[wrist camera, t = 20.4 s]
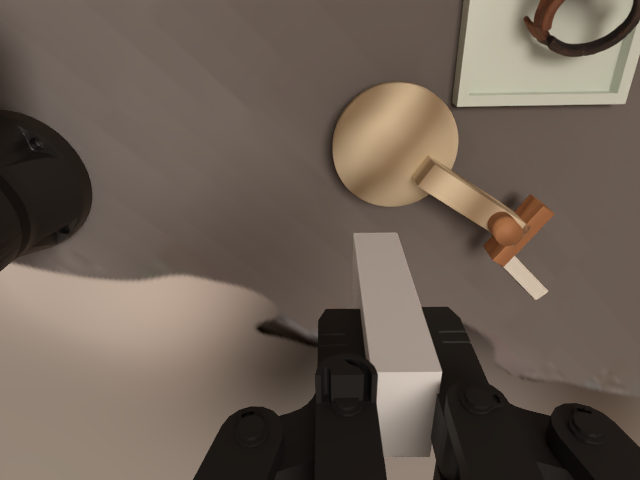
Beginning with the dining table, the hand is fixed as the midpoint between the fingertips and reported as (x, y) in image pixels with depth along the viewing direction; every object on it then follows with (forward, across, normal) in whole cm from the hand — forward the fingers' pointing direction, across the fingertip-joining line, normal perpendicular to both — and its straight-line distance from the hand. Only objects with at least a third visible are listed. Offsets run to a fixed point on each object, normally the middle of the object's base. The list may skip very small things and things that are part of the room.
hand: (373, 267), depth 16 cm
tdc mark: (+32, +22, -21) cm, 44 cm away
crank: (+30, +9, -7) cm, 32 cm away
